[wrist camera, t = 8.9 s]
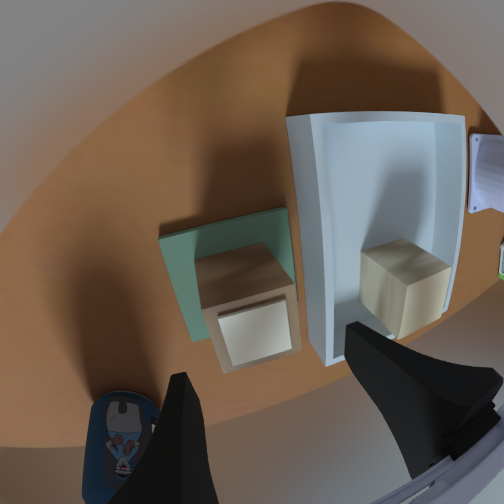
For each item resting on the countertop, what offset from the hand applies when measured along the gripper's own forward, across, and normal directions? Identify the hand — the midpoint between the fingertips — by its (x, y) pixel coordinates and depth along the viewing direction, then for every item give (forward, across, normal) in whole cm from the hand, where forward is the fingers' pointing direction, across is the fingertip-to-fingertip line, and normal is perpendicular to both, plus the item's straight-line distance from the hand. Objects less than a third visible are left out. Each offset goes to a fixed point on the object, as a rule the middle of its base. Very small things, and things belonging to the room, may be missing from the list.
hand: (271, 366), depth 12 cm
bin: (+8, -11, -1) cm, 14 cm away
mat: (+8, 0, 0) cm, 9 cm away
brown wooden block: (+8, 0, 0) cm, 8 cm away
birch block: (+8, -11, +2) cm, 14 cm away
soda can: (+9, +13, +11) cm, 19 cm away
